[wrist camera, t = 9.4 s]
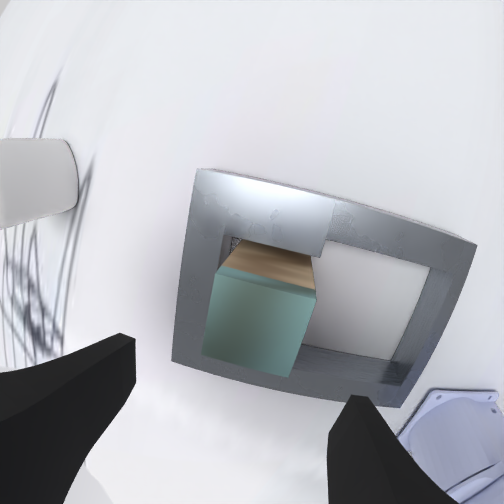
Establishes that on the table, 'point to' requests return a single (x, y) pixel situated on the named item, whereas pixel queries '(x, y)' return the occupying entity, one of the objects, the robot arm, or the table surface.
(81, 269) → the table surface
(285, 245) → the keyhole plate
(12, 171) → the eye dropper bottle
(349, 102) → the table surface
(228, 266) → the plug block
